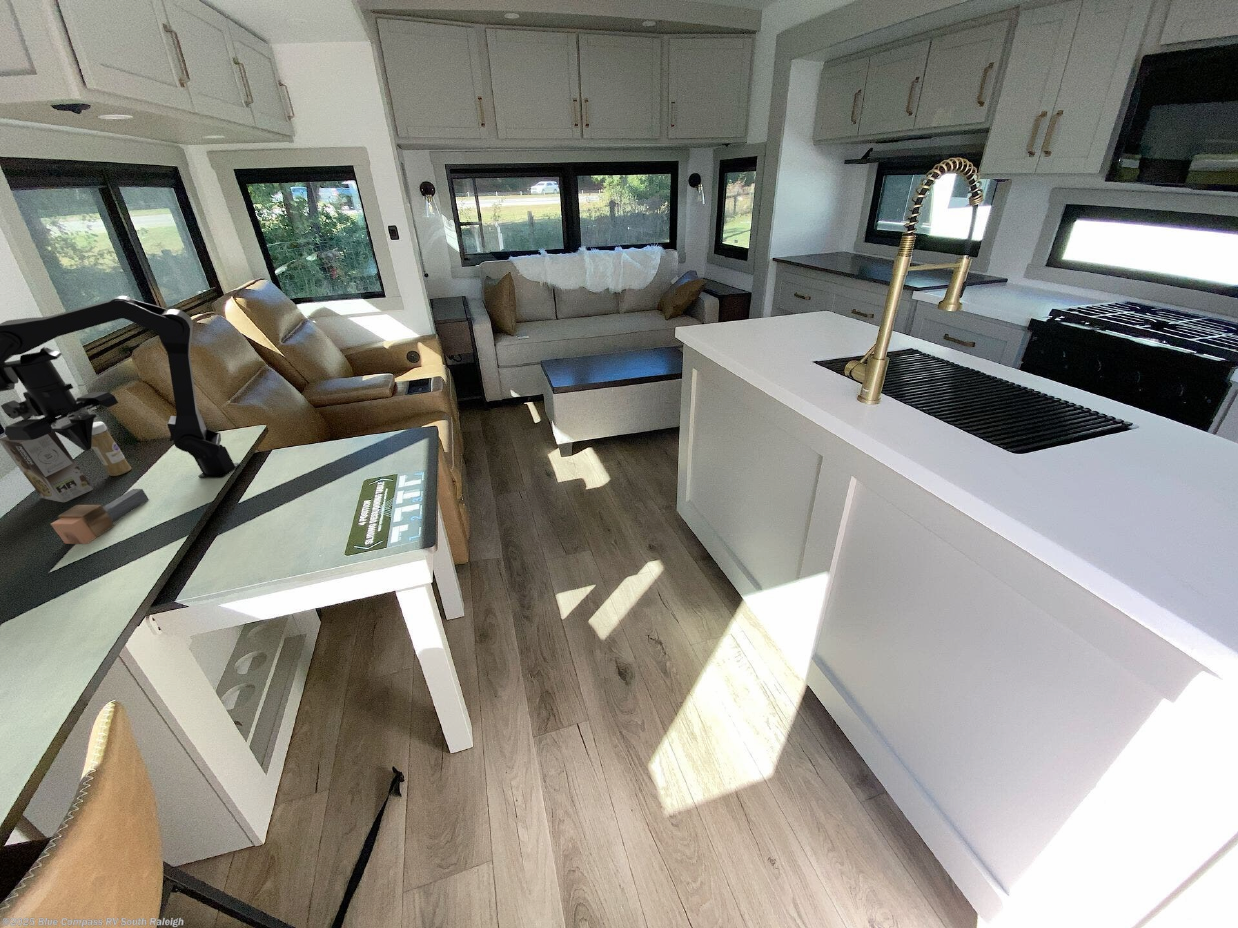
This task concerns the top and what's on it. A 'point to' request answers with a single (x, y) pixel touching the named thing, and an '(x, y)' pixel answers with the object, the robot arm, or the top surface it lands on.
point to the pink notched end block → (73, 530)
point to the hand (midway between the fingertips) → (87, 449)
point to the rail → (123, 505)
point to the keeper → (91, 517)
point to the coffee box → (48, 467)
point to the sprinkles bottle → (108, 450)
